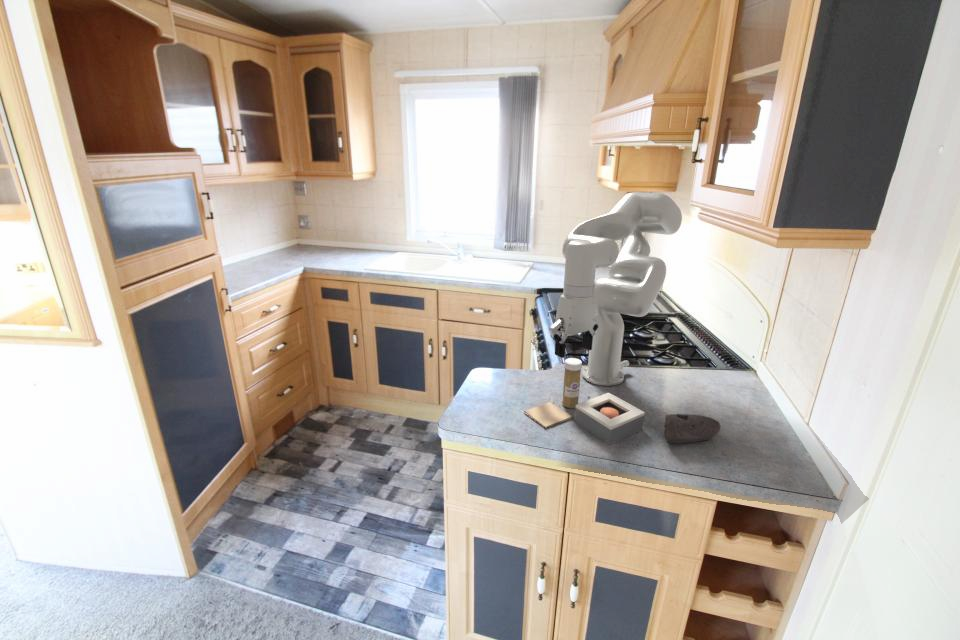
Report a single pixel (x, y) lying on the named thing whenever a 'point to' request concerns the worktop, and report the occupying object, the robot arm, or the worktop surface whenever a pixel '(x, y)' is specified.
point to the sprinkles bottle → (571, 382)
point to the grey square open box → (604, 426)
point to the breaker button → (609, 412)
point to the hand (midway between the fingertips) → (573, 352)
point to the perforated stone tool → (689, 428)
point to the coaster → (548, 414)
